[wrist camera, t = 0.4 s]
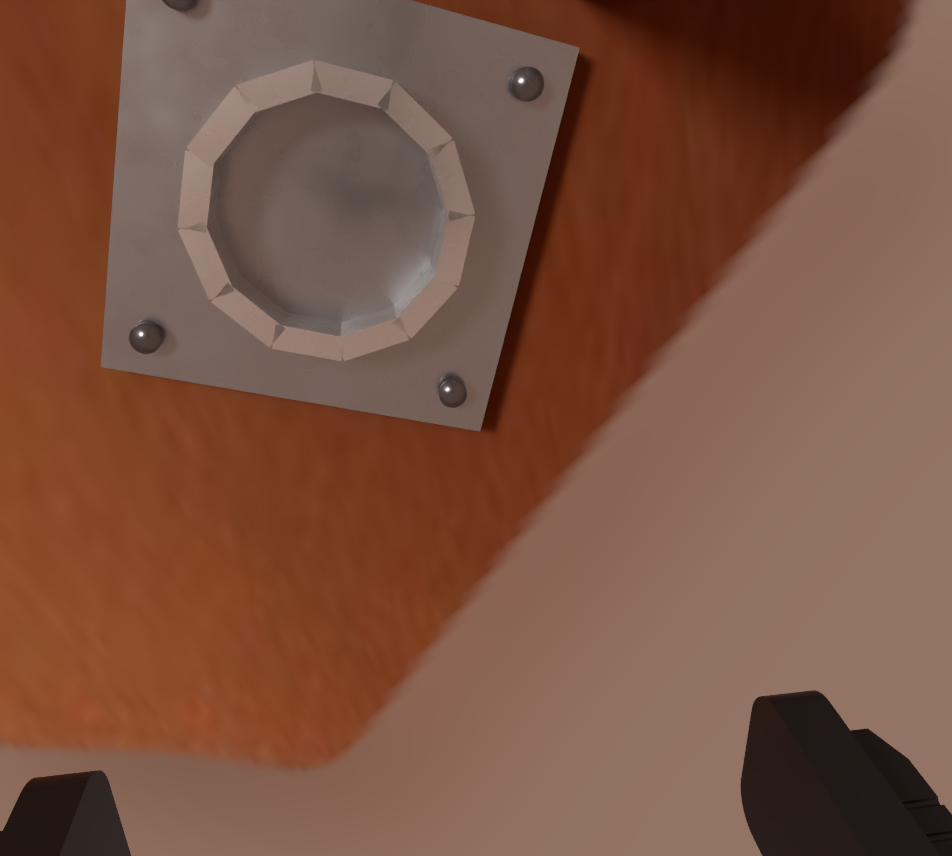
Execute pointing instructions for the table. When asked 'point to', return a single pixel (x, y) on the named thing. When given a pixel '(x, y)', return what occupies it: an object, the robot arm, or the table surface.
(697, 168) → the table surface
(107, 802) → the robot arm
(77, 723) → the table surface
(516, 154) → the duct flange
